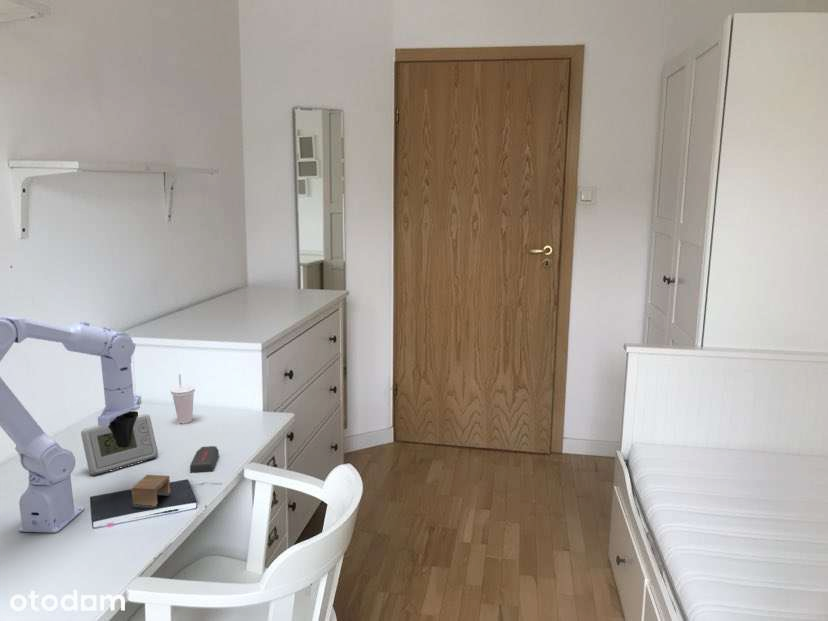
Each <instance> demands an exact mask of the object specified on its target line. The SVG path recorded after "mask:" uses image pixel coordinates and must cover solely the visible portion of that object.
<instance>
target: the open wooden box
mask: <svg viewBox="0 0 828 621" xmlns="http://www.w3.org/2000/svg"><path fill="white" fill-rule="evenodd" d="M170 492H171V481H170V475H162V474H161V475H159V474H157V475H156V474H146V475H145V476H144V477H143V478H141V479H140V480H139V481H138V482H137V483H135V485H133V486H132V487H131V498H132V500H131V501H132V505H133V504H141V505H152V506H156V505H157V504H158V496H157V493H166V494H169V493H170ZM158 505H159V504H158Z"/></svg>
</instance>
